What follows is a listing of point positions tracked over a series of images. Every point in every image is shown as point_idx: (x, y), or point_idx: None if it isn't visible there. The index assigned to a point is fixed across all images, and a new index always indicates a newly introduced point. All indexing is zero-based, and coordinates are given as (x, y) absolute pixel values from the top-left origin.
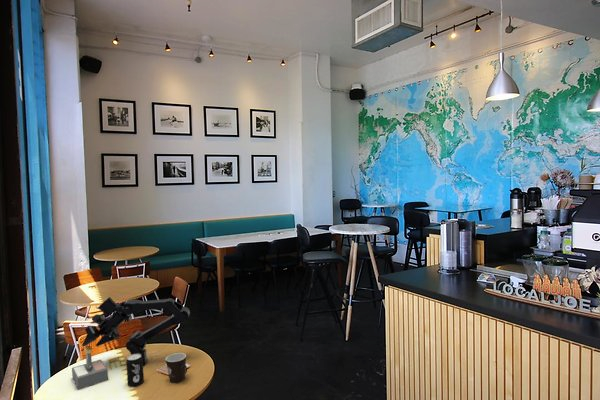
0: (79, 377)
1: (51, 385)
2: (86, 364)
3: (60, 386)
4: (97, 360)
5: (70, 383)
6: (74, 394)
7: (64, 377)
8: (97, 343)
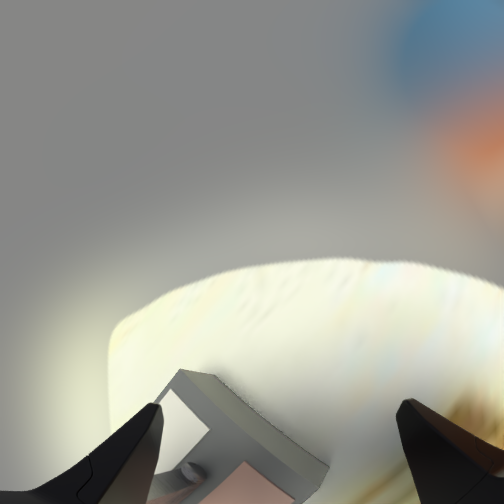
0: None
1: (157, 321)
2: (179, 468)
3: (151, 369)
4: (299, 476)
5: None
6: None
7: (221, 320)
8: (413, 417)
